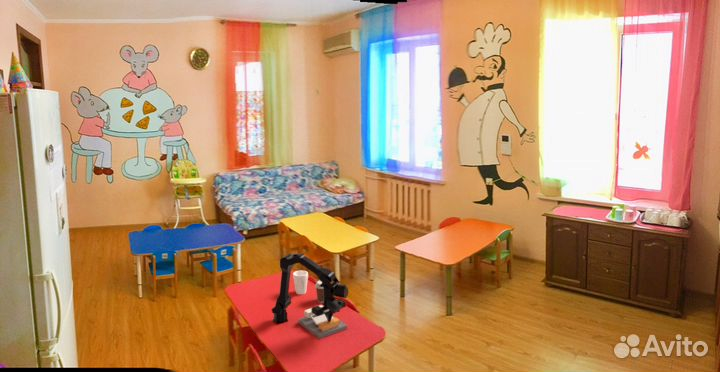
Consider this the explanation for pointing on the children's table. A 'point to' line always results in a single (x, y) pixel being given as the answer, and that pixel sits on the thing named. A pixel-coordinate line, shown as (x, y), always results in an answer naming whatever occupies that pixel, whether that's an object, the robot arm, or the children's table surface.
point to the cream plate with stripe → (319, 318)
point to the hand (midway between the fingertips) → (329, 321)
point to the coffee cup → (319, 291)
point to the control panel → (315, 330)
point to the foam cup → (300, 281)
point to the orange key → (329, 324)
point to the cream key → (309, 312)
